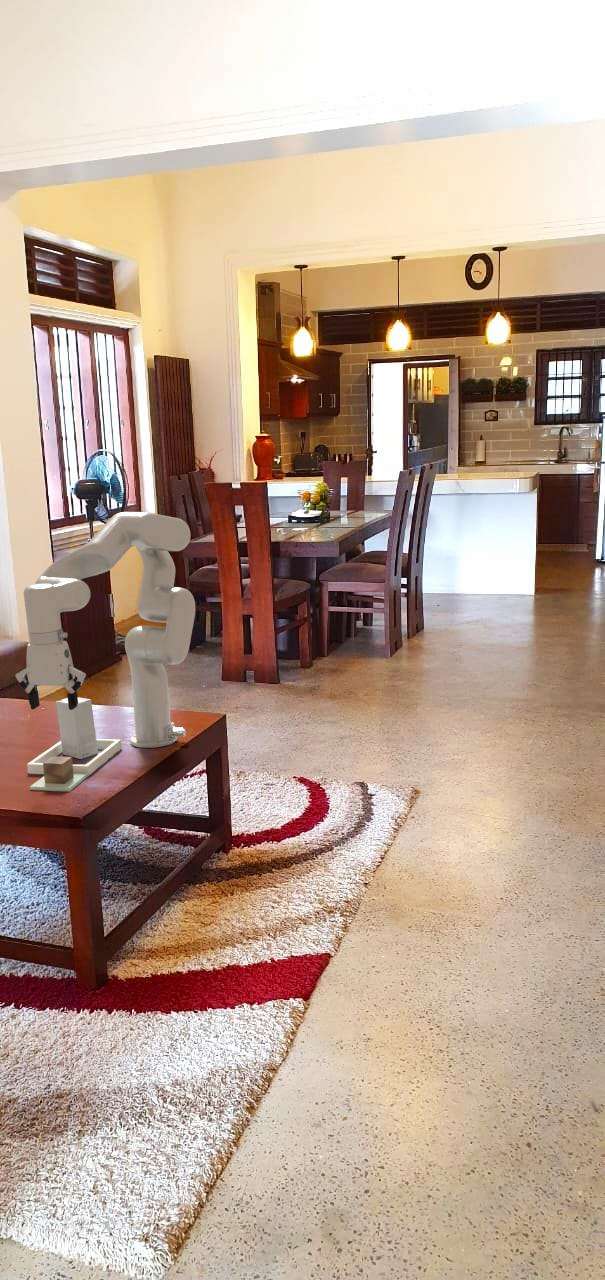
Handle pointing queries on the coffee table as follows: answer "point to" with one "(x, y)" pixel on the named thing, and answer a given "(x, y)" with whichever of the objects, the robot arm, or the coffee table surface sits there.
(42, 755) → the cream rectangular frame
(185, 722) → the coffee table surface
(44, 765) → the walnut block
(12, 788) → the coffee table surface
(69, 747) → the skincare box
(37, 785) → the tile
